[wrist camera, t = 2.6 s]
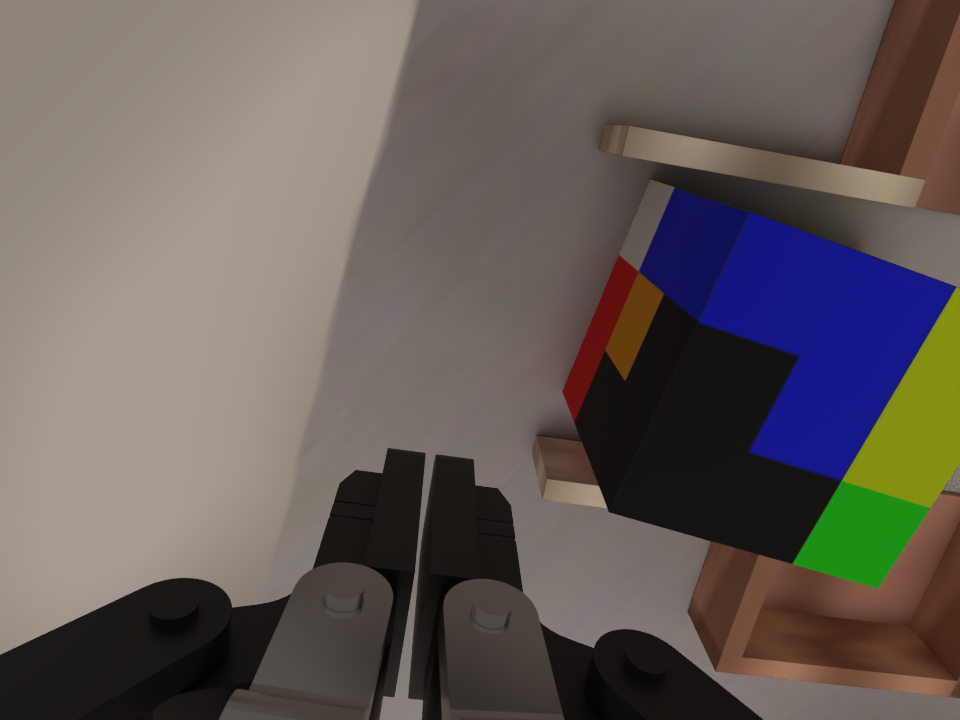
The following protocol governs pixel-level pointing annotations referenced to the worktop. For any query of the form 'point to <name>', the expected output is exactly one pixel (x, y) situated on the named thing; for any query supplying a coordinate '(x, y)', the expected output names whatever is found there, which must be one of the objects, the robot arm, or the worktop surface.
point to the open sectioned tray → (953, 517)
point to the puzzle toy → (768, 388)
